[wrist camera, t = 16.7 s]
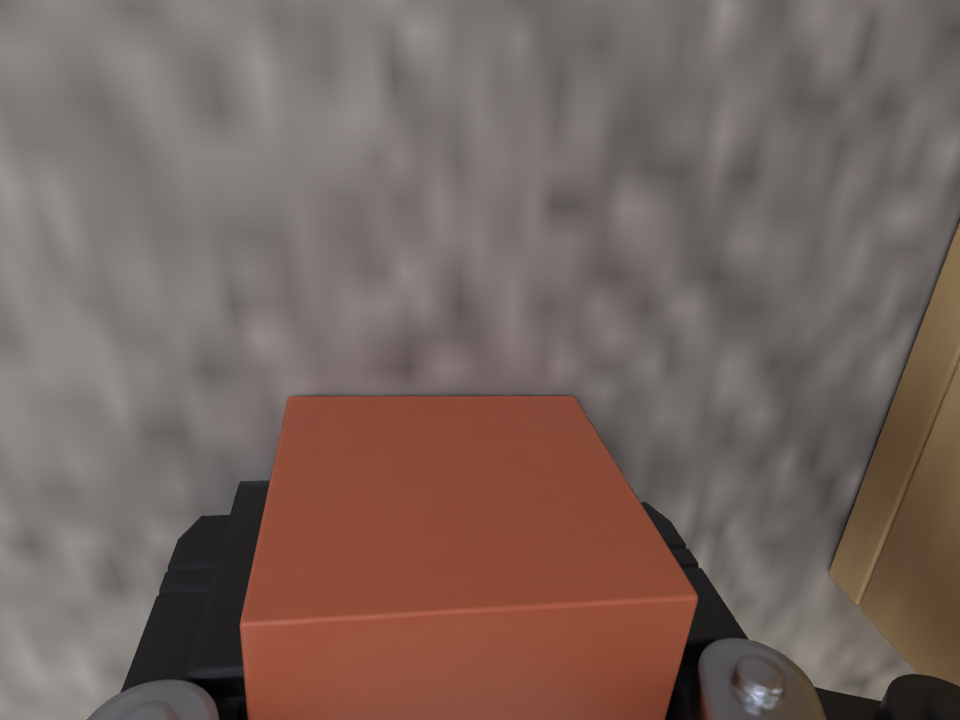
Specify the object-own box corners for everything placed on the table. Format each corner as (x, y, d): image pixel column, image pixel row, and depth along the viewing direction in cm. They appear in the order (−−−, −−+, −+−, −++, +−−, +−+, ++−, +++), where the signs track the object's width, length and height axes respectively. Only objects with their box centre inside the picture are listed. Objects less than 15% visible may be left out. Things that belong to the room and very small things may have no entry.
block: (575, 394, 11) (701, 595, 7) (542, 605, 12) (626, 864, 8) (287, 394, 10) (238, 625, 6) (296, 620, 12) (263, 912, 8)
